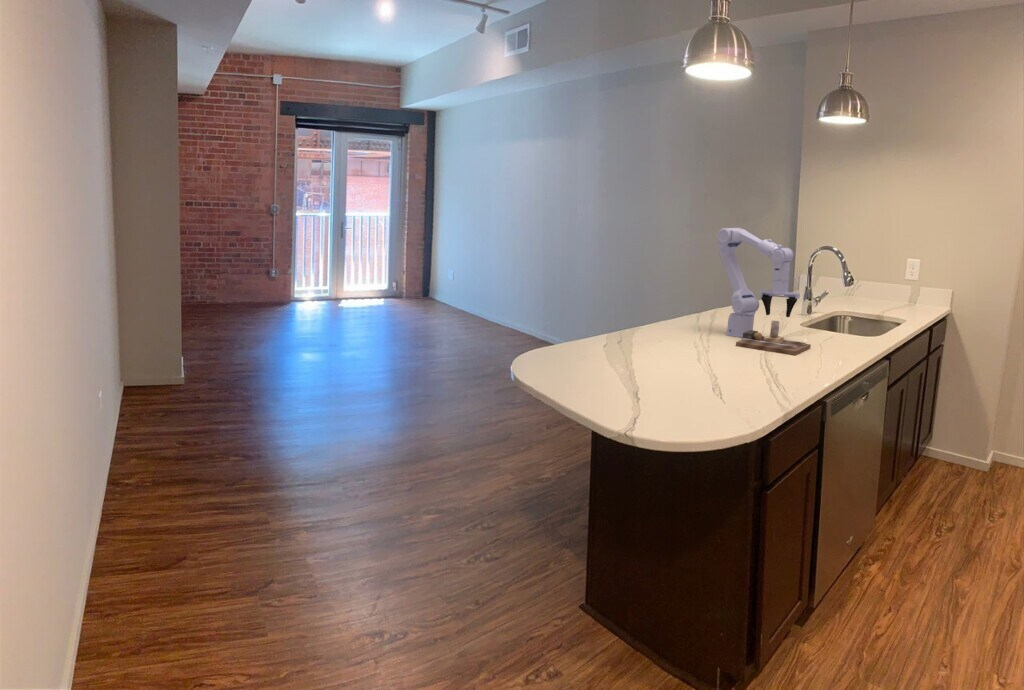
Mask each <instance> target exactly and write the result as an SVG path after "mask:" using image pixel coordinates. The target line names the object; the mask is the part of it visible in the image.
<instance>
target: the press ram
mask: <svg viewBox="0 0 1024 690" xmlns="http://www.w3.org/2000/svg"><path fill="white" fill-rule="evenodd" d="M770 324H771V325H770V331H769V332H770V333H769V334H768V335H767V336H764V341H765V342H771V343H778V344H780V343H782V342H783V339H784V336H781V335H780V336H779V330H780V321H779V320H771V323H770Z"/></svg>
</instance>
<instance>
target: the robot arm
mask: <svg viewBox="0 0 1024 690" xmlns="http://www.w3.org/2000/svg"><path fill="white" fill-rule="evenodd" d="M716 241H717V243H718V254H719V257H720V259H721V263H722V265H723V268H724V270H725V273H726V277H727V278H728V282H729V284H730V287H731V290H732V292H733V294H732V295H731V297H730V300H731V307H732V308H731V309H732V311H733V312H730V314H729V316H728V319H727V328H726V334H725V336H730V337H737V338H741V339H742V338H743V332H746V331H749V330H753V331H754V324H755V323H754V322H755V315H756V312H757V311H759V308H760V301H759V299H758V298H757V297H756V296H755V295H754V292H753V291H752V290H750V289H749V288H748V285H747V284H746V281H745V278H744V275H743V273H742V271H741V270H742V269H741V268H740V265H739V262H738V260H737V257H736V255H735V252H736V250H738V249H739V247H740V246H741V244H742V243H743V242H744V243H746V244H747V245H750V246H752V247H754V248H756V249H757V251H758V253H760V254H761V255H763V256H765V257H767V258H769V259H770V260H771V262H772V267H773V272H772V282H771V285H772V286H771V290H767V289H766V290H764V289H762V290H761V289H760V291H759V296H761V301H762V303H763V305H764V310H765V315H766V316H770V314H771V307H772V299H773V297H776V298H786V299H785V300H786V301H785V302H786V313H785V318H790V316H791V315H792V314H791V313H792V310H793V308H794V306H795V304H796V303H797V301H798V299H800V297H801V293H799V292H791V291H789V282H790V268H791V262H792V261H793V260H794V258H795V253H794V251H793V249H791V248H790V247H783V245H782V244H778V243H775V242H773V239H771V238H768V239H767V238H766V239H763V240H762V239H760V238H759V237H757V236H756V235H754V234H752V233H750V232H749V231H748V230H746V229H743V228H742V227H731V228H730V227H722V228H721V229H719V231H718V233H717V235H716Z"/></svg>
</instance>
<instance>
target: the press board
mask: <svg viewBox="0 0 1024 690" xmlns="http://www.w3.org/2000/svg"><path fill="white" fill-rule="evenodd" d="M764 337H765V336H763V334H762V333H761V332H760V331H758V330H754V329H753V330H749V331H746V332H743V338H742V337H741V340H738V341H735V347H741V348H747V349H752V350H758V351H766V352H772V353H778V354H784V355H790V356H797V355H799V354H801V353H804V352H805V351H808V350H811V344H809V343H806V342H803V341H798V340H797V341H796V340H791V339H790V340H789V339H784V338H783V342H782V343H780V344H778V343H771V342H765V341H764Z"/></svg>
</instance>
